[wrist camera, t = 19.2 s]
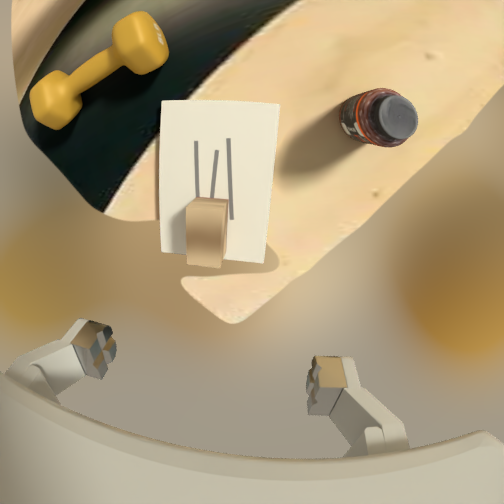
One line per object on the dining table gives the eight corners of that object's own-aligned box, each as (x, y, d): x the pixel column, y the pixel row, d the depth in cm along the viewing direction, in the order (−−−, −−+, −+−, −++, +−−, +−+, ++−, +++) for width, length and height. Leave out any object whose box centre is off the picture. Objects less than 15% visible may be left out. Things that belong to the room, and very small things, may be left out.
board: (166, 101, 31) (161, 100, 29) (279, 105, 30) (280, 104, 29) (164, 247, 39) (161, 252, 38) (264, 258, 39) (263, 263, 37)
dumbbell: (70, 131, 33) (33, 137, 25) (57, 83, 29) (21, 82, 22) (180, 69, 29) (155, 56, 21) (162, 17, 25) (135, -4, 18)
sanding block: (196, 196, 34) (185, 207, 30) (228, 199, 34) (221, 210, 30) (196, 248, 37) (186, 264, 33) (226, 251, 37) (219, 268, 33)
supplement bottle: (340, 143, 31) (370, 150, 21) (335, 95, 29) (362, 82, 19) (385, 141, 31) (429, 151, 20) (380, 95, 28) (423, 86, 18)
